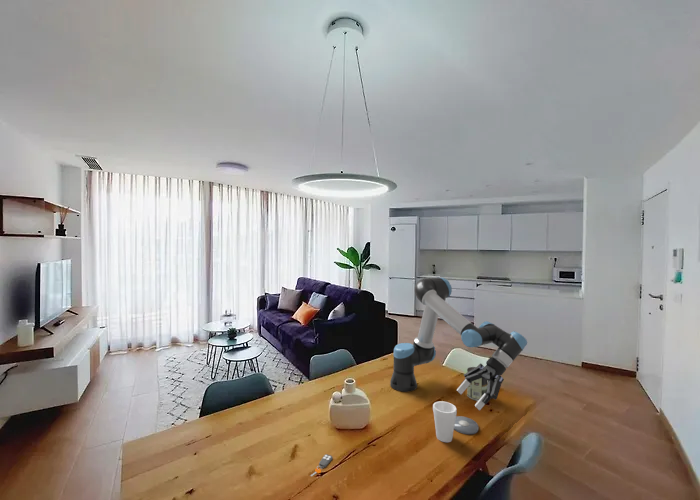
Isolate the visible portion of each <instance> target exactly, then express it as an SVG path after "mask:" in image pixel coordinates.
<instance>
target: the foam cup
mask: <svg viewBox="0 0 700 500" xmlns="http://www.w3.org/2000/svg"><path fill="white" fill-rule="evenodd" d="M457 410H458V409H457V407H456V405H454V404H453V403H450V402H448V401H443V400H441V401H435V402H434V403H433V404H432V411H433V418H434V426H435V427H434V428H435V436H436V439H437V440H438V441H440V442H443V443H451V442H452V441H453V439H454V438H453V437H454V431H455V430H454V424H455V418H456V416H458V415H457Z"/></svg>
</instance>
